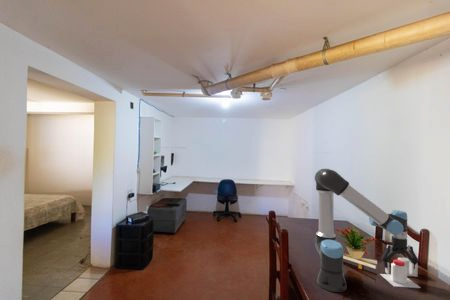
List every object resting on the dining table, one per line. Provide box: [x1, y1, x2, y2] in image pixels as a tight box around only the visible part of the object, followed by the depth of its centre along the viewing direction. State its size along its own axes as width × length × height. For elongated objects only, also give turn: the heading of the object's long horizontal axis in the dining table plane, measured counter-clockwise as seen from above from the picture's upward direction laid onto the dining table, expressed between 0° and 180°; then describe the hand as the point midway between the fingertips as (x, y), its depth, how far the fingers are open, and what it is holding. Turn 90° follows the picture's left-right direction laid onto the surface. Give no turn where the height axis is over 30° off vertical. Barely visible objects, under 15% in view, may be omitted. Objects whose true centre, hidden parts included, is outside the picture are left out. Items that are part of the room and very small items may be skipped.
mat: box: [379, 273, 421, 289], centre depth 142 cm, size 14×14×1 cm
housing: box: [397, 257, 419, 277], centre depth 151 cm, size 8×6×9 cm
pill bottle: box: [390, 259, 408, 284], centre depth 142 cm, size 8×8×11 cm
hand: (399, 273), depth 142 cm, fingers open, 13 cm apart
